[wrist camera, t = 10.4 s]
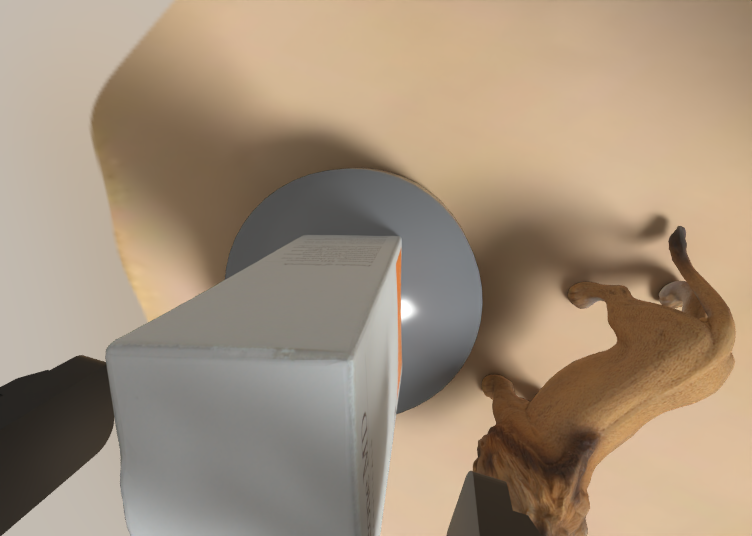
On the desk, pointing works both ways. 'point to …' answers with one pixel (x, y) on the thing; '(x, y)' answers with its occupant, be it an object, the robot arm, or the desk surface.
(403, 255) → the grey rounded flat disc
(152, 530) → the skincare box
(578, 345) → the desk surface
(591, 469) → the lion figurine
